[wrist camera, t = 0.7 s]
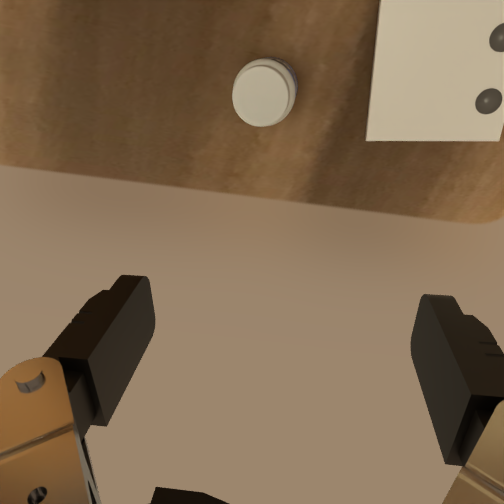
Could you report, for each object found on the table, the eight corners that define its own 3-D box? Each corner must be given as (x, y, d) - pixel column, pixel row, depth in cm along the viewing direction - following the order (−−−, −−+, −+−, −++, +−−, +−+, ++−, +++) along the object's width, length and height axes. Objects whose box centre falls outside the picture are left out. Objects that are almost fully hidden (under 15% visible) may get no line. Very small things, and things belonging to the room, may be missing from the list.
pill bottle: (309, 84, 34) (309, 95, 27) (272, 125, 36) (262, 146, 29) (269, 43, 33) (257, 43, 26) (233, 88, 35) (213, 100, 28)
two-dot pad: (380, -6, 31) (381, -8, 30) (533, -13, 29) (539, -14, 29) (364, 138, 36) (366, 141, 35) (495, 139, 35) (499, 141, 34)
